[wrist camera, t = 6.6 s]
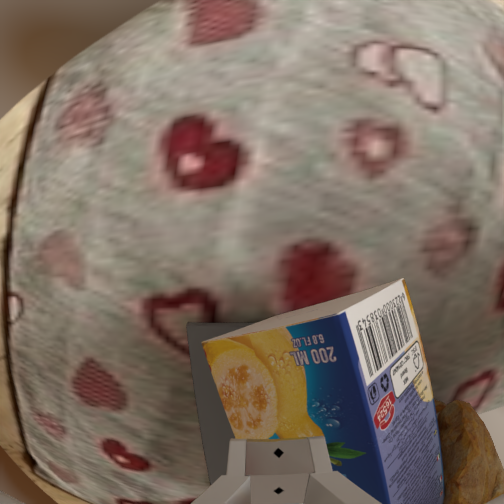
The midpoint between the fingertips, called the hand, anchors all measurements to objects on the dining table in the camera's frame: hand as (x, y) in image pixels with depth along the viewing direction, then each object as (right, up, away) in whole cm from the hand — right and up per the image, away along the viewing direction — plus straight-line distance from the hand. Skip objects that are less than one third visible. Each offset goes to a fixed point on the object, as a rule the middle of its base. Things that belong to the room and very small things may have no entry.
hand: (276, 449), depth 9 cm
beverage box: (+2, +3, +9) cm, 10 cm away
